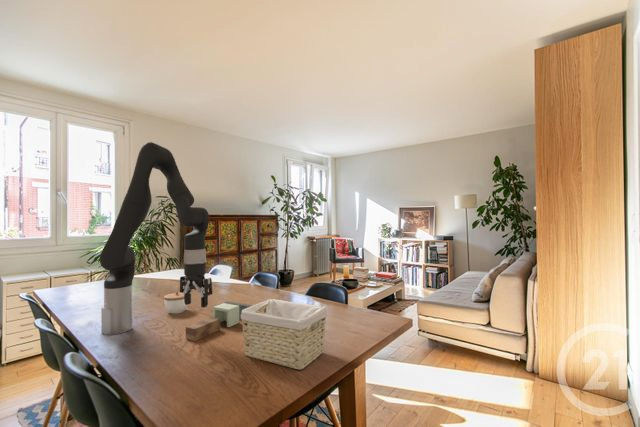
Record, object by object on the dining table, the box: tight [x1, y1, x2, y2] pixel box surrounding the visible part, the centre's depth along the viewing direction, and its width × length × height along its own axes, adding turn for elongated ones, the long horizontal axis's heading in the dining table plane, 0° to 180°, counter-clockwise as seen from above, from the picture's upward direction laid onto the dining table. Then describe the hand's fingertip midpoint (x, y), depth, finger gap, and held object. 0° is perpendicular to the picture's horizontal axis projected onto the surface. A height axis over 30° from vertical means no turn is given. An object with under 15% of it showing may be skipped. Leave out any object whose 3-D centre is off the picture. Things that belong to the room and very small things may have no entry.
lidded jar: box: [163, 291, 189, 315], centre depth 142 cm, size 11×11×9 cm
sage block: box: [212, 302, 240, 328], centre depth 125 cm, size 6×8×7 cm
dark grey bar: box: [224, 301, 254, 320], centre depth 133 cm, size 5×16×6 cm, turn 63°
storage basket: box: [240, 298, 328, 370], centre depth 97 cm, size 24×16×15 cm
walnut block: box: [185, 316, 221, 342], centre depth 114 cm, size 12×4×4 cm, turn 152°
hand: (196, 305), depth 111 cm, fingers open, 8 cm apart
